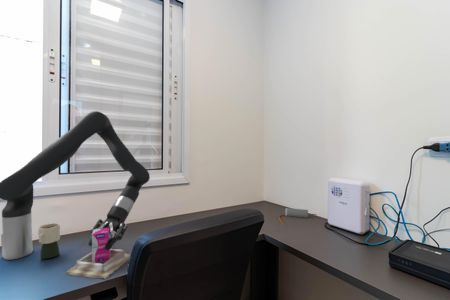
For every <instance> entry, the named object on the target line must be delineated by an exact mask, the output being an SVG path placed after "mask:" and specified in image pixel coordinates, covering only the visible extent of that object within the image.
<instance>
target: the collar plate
mask: <svg viewBox="0 0 450 300" xmlns="http://www.w3.org/2000/svg"><path fill="white" fill-rule="evenodd" d="M130 254H131V253H126V252H125V250H124V249H120V248H119V249H118V248H111V249H110V259H109V260H108V261H107V262H102V263H92V251H91V252H89V253H88V254H86V255H84V256H83V257H81V258H79V259H78V260H76V261H75V265H74V266H72V267H71V268H69V269H67V270H66V272H65V275H70V276H76V277H86V278H92V279H93V278H95V279H101V278H104V280H106V279H108V278H109V277H110V276H111V275H112V274H114V273H115V272H116V271H117V270H118V269H120V268H121V267H122V266H123V265H125V263H127V262H128V261H129V260H130V259H129V257H130ZM120 266H121V267H120ZM115 270H116V271H115ZM114 271H115V272H114ZM110 274H111V275H110ZM109 275H110V276H109Z"/></svg>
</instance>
